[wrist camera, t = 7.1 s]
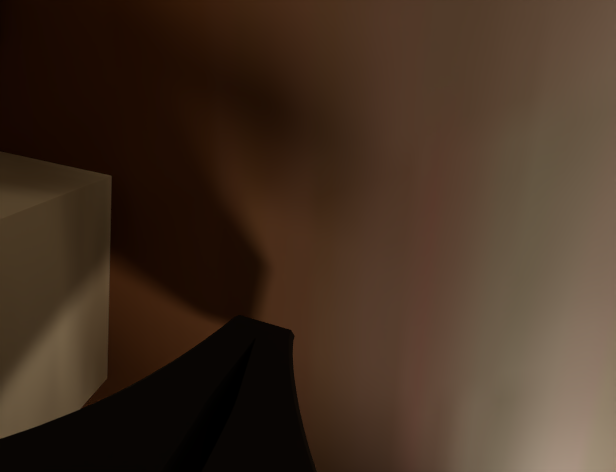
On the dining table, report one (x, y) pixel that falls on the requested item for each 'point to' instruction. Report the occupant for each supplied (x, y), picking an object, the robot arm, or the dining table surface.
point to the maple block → (51, 289)
